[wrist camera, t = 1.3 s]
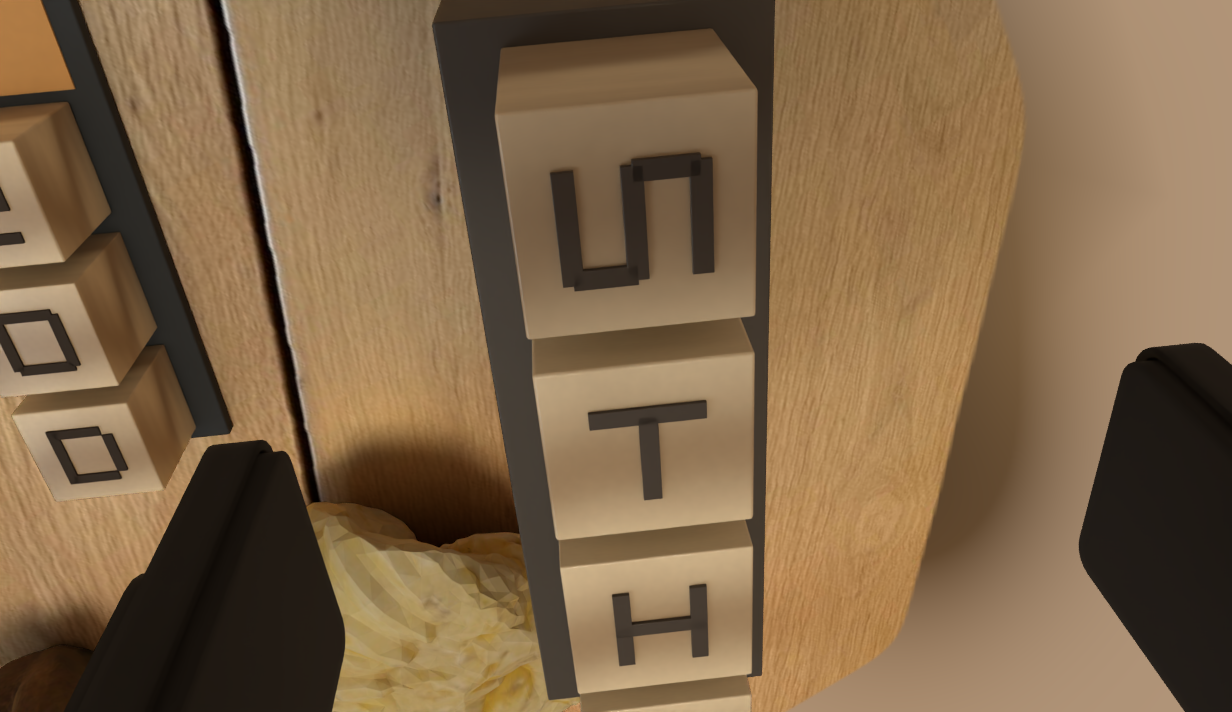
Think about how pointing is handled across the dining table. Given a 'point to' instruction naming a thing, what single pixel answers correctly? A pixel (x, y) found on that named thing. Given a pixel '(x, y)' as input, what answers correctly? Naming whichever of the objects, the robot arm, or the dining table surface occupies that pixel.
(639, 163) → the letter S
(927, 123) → the dining table surface
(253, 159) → the dining table surface
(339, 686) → the ammonite fossil
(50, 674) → the sculpture
